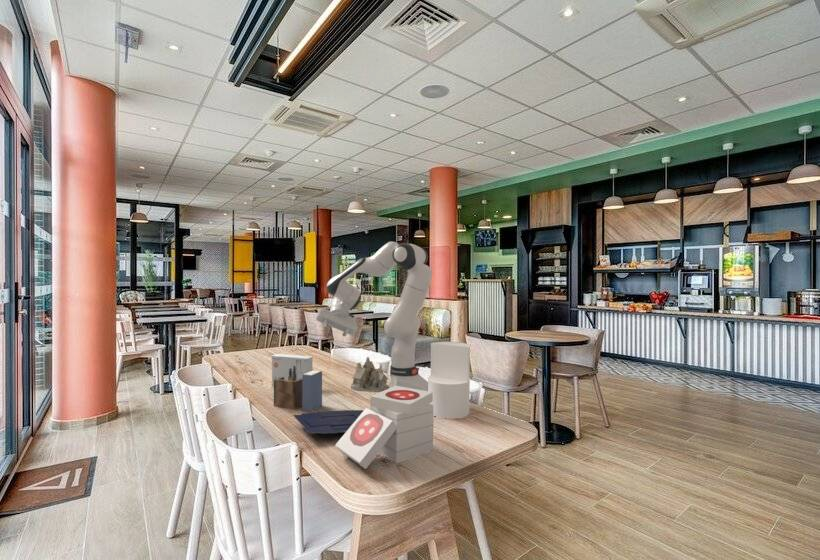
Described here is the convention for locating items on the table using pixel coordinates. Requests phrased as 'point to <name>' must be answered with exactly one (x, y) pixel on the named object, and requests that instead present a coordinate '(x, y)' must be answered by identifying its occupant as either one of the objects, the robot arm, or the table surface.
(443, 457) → the table surface
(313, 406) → the tall blue pillar
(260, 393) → the table surface
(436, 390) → the cylinder
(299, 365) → the skincare box
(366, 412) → the pizza boxes
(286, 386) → the shelf
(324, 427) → the navy flat slab
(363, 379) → the grey rock
